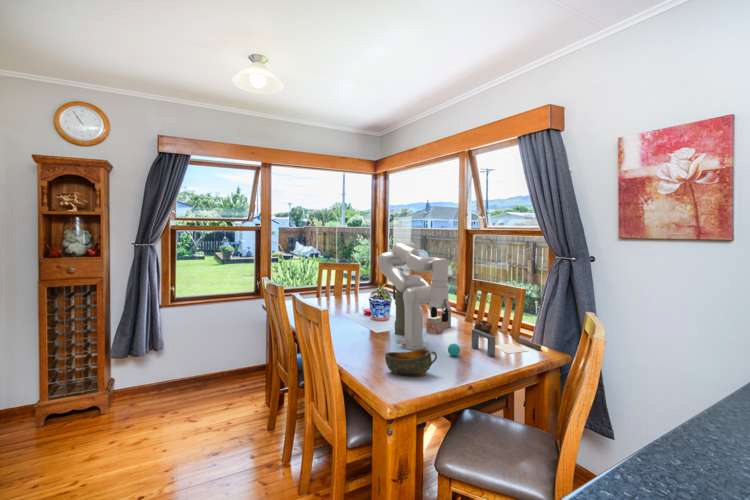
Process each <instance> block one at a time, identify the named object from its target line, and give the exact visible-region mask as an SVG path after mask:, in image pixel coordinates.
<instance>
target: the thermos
mask: <svg viewBox="0 0 750 500" xmlns="http://www.w3.org/2000/svg"><path fill="white" fill-rule="evenodd" d="M392 285H393V284H392ZM392 288H393V289H392V294H393V295H392V297H393V298H392V299H393V300H394V304H395V320H394V334H395V335H398V336H405V306H404V300H403V293H402V292H400V291H399V290H398V289H397V288H396V287H395V286H394V285H393V286H392Z"/></svg>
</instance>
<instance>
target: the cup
mask: <svg viewBox="0 0 750 500" xmlns="http://www.w3.org/2000/svg"><path fill="white" fill-rule="evenodd" d="M431 355H434V358H433V360H432V357H431ZM384 357H385V363H386V366H387V368H388V369H389V371H390V372H391V374H392V375H395V376H398V377H406V378H421V377H424V376H425V375H426V373H427V372H428V371H429V370H430V368H431V367H432V365H433V364H434V363H435V362H436V360H437V359H438V355H437V352H436V351H433V350H432V351H429V350H428V349H427V348H426V349H425V348H423V349H420V350H410V351H402V352H397V351H395V352H389V351H388V352H385V353H384Z"/></svg>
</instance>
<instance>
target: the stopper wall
mask: <svg viewBox="0 0 750 500" xmlns="http://www.w3.org/2000/svg"><path fill="white" fill-rule="evenodd" d="M515 343H517V344H520V345H522V346H525V347H527V348H530V349H532V350H534V351H537V352H541V351H542V345H540V344H538V343H536V342H532V341H530V340H527V339H524V338H523V337H519V336H518V337H517V336H516V338H515Z"/></svg>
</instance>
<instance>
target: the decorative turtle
mask: <svg viewBox="0 0 750 500" xmlns="http://www.w3.org/2000/svg"><path fill="white" fill-rule="evenodd" d="M492 328H493V325H492V324H491V323H490V322H489V321H486V320H479V321H478V322H475V324H474V326H473V330H474V329H477V330H480V331H482V332H485V333H487V334H490V332H491V331H492Z"/></svg>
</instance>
